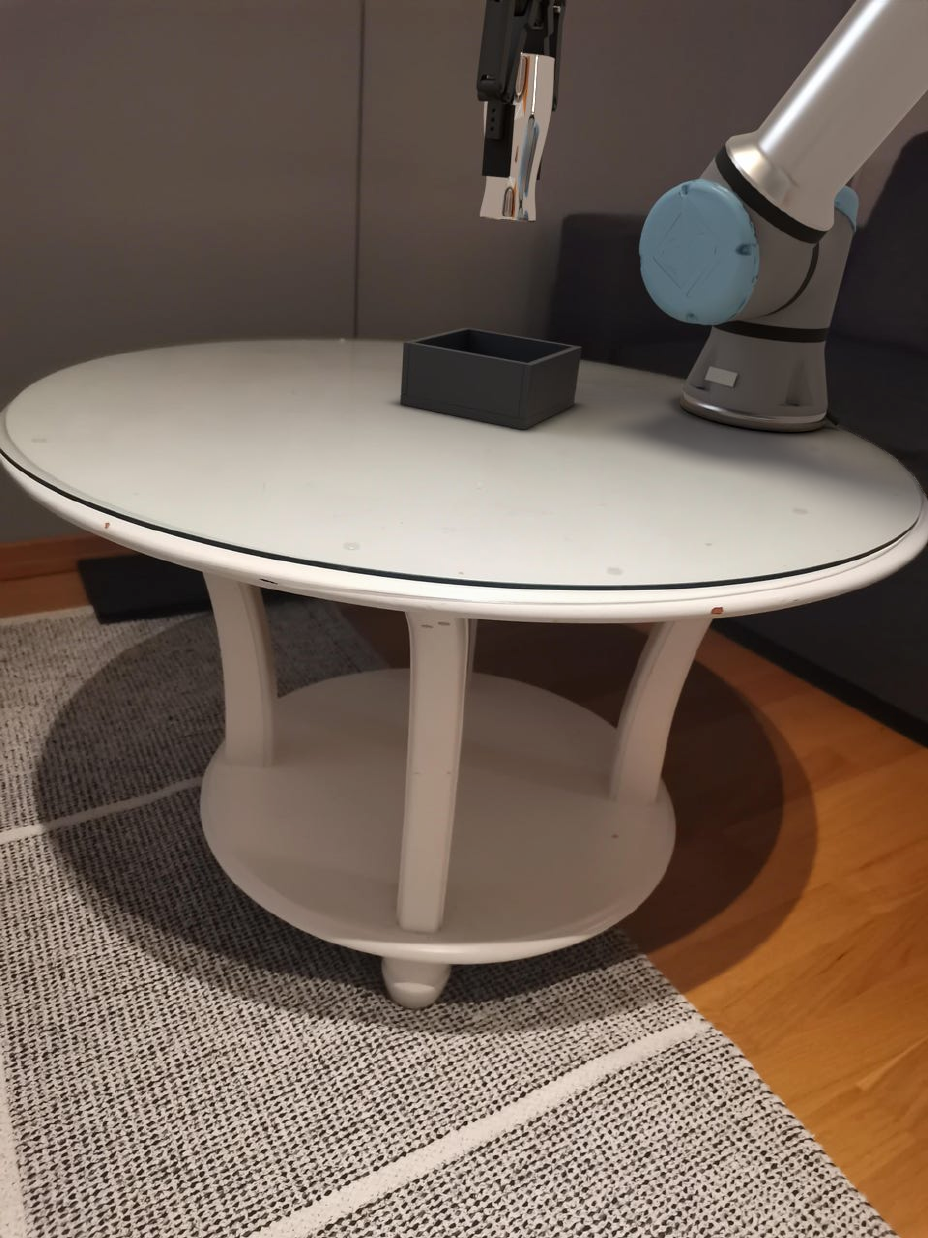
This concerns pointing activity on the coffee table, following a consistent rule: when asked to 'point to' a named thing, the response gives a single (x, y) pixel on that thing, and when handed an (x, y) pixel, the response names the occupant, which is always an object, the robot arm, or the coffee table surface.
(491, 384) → the bin
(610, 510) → the coffee table surface
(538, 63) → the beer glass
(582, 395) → the coffee table surface
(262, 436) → the coffee table surface
